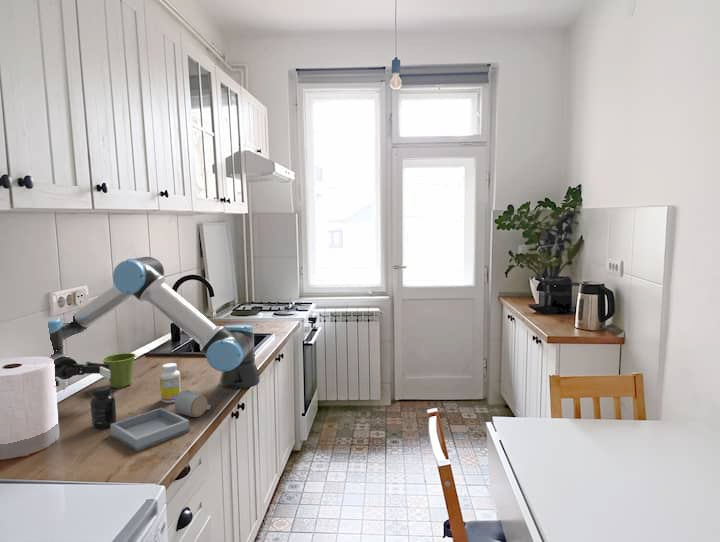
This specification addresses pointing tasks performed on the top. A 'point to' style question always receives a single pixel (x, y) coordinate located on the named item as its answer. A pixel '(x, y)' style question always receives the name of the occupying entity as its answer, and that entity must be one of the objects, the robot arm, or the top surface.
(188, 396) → the ceramic mug
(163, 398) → the supplement bottle
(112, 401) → the supplement bottle
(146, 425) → the tray
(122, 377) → the plant pot
